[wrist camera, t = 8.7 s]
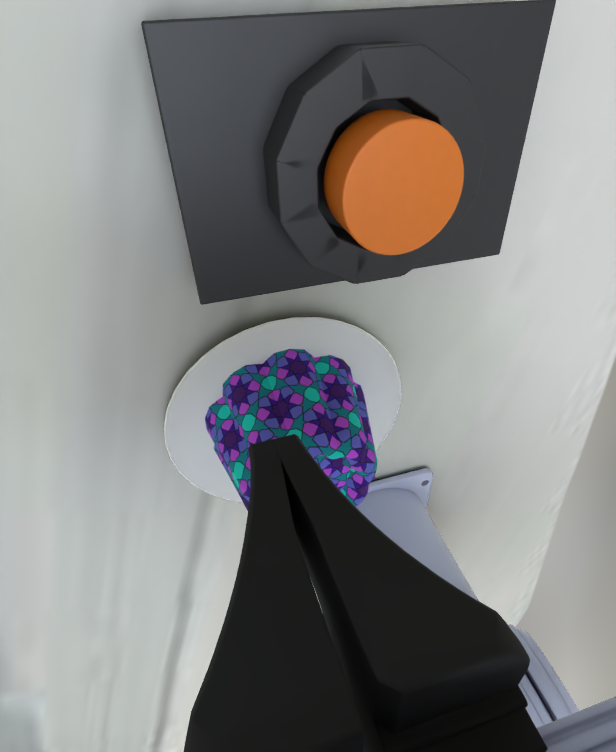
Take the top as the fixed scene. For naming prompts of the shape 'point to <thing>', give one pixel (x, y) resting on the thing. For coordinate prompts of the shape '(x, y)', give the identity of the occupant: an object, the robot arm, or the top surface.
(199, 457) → the pudding
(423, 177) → the button
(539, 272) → the top surface
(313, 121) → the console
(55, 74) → the top surface
